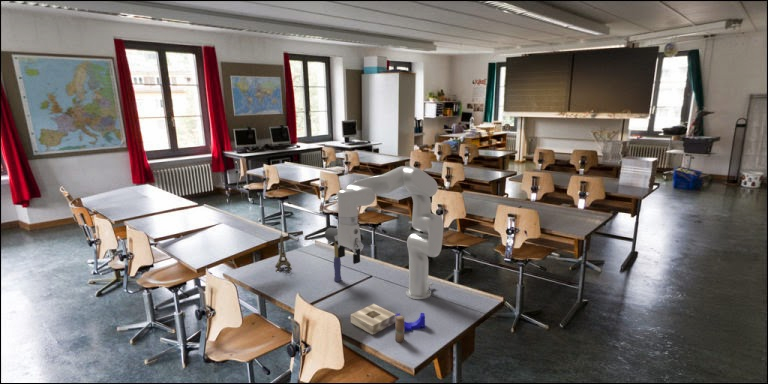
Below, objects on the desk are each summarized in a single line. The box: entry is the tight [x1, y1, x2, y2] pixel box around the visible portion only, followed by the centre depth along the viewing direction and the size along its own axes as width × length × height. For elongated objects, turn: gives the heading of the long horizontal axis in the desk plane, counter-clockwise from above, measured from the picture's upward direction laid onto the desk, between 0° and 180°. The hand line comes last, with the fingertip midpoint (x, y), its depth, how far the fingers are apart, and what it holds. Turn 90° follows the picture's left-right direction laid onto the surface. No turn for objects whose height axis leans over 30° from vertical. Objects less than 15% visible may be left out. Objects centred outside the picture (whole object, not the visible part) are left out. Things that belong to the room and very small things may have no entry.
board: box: [350, 303, 397, 336], centre depth 183 cm, size 14×14×4 cm
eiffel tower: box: [274, 231, 293, 273], centre depth 242 cm, size 11×11×25 cm
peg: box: [394, 315, 405, 344], centre depth 169 cm, size 4×4×10 cm
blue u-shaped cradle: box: [395, 312, 426, 332], centre depth 178 cm, size 12×4×6 cm, turn 92°
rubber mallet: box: [324, 227, 342, 283], centre depth 223 cm, size 12×8×30 cm, turn 46°
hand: (349, 259), depth 171 cm, fingers open, 9 cm apart
